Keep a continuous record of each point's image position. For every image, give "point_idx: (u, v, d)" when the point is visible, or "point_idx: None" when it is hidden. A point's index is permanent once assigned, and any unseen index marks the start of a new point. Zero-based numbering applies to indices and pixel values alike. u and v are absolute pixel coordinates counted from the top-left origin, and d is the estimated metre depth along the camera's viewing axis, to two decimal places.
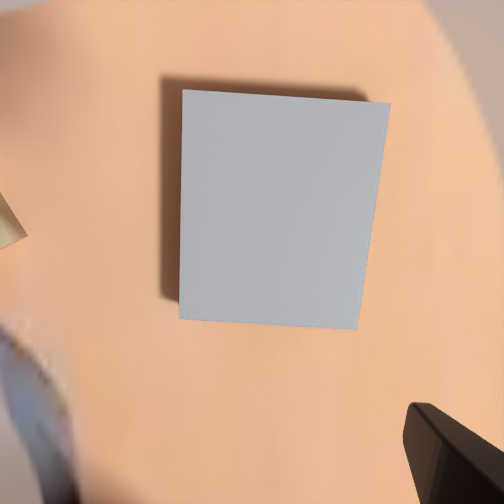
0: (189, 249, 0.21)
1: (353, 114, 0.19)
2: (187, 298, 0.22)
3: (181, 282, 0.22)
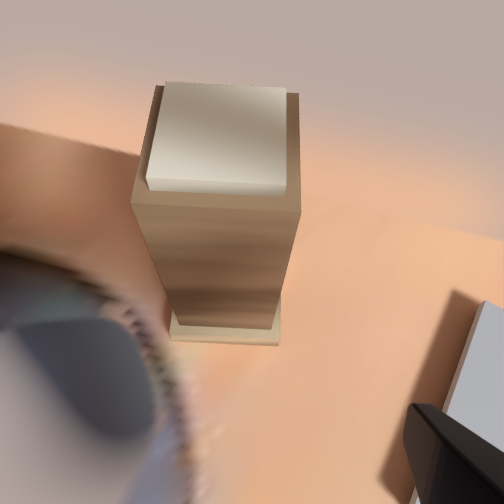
0: None
1: None
2: None
3: None
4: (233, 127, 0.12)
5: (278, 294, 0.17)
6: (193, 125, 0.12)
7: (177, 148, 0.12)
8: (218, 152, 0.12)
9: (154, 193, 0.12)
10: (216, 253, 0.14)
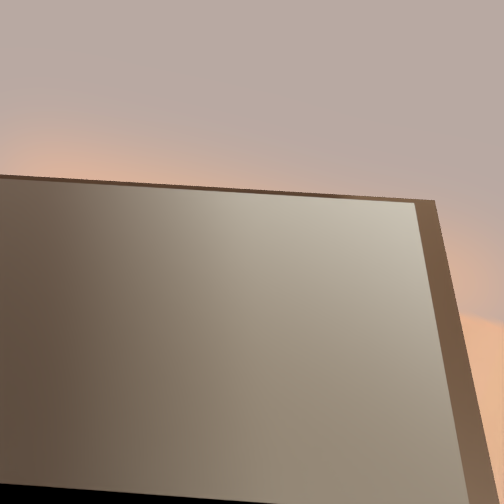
0: None
1: None
2: None
3: None
4: (146, 488, 0.02)
5: None
6: None
7: None
8: None
9: None
10: None
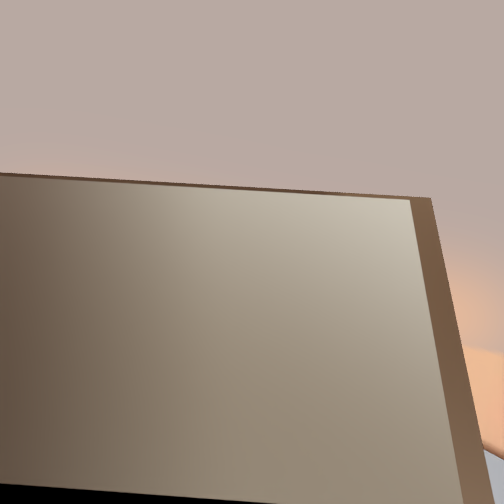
0: None
1: None
2: None
3: None
4: (141, 482, 0.02)
5: None
6: None
7: None
8: None
9: None
10: None
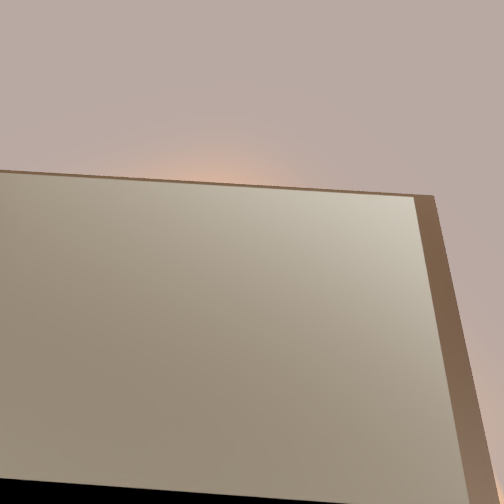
0: None
1: None
2: None
3: None
4: (146, 477, 0.02)
5: None
6: None
7: None
8: None
9: None
10: None
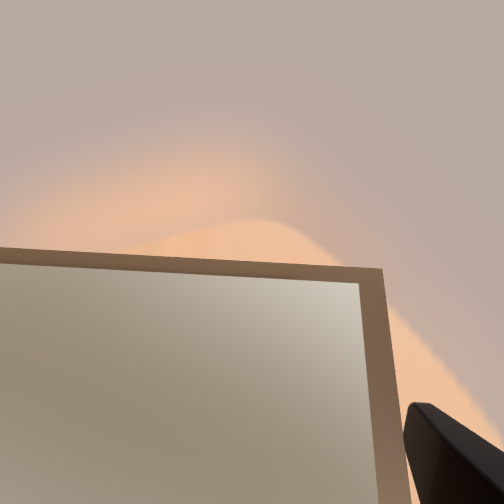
0: None
1: None
2: None
3: None
4: (178, 481, 0.03)
5: None
6: (26, 476, 0.03)
7: None
8: None
9: None
10: None
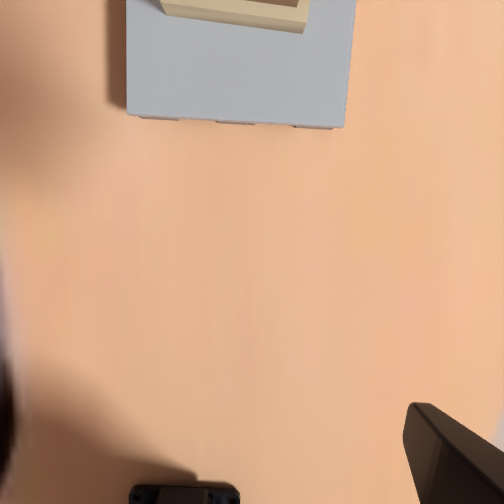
0: (137, 17, 0.18)
1: None
2: (136, 84, 0.18)
3: (128, 62, 0.18)
4: None
5: None
6: None
7: None
8: None
9: None
10: None
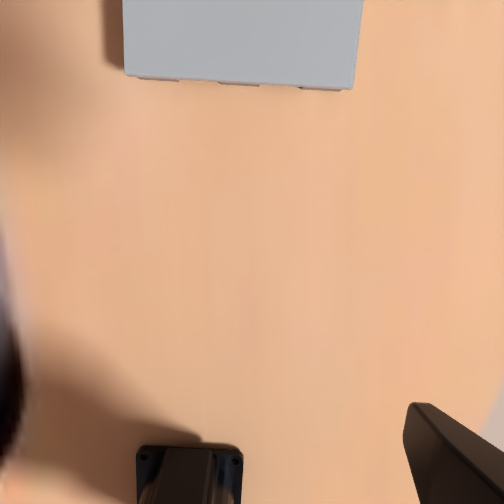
0: None
1: None
2: (134, 42, 0.17)
3: (125, 18, 0.17)
4: None
5: None
6: None
7: None
8: None
9: None
10: None
